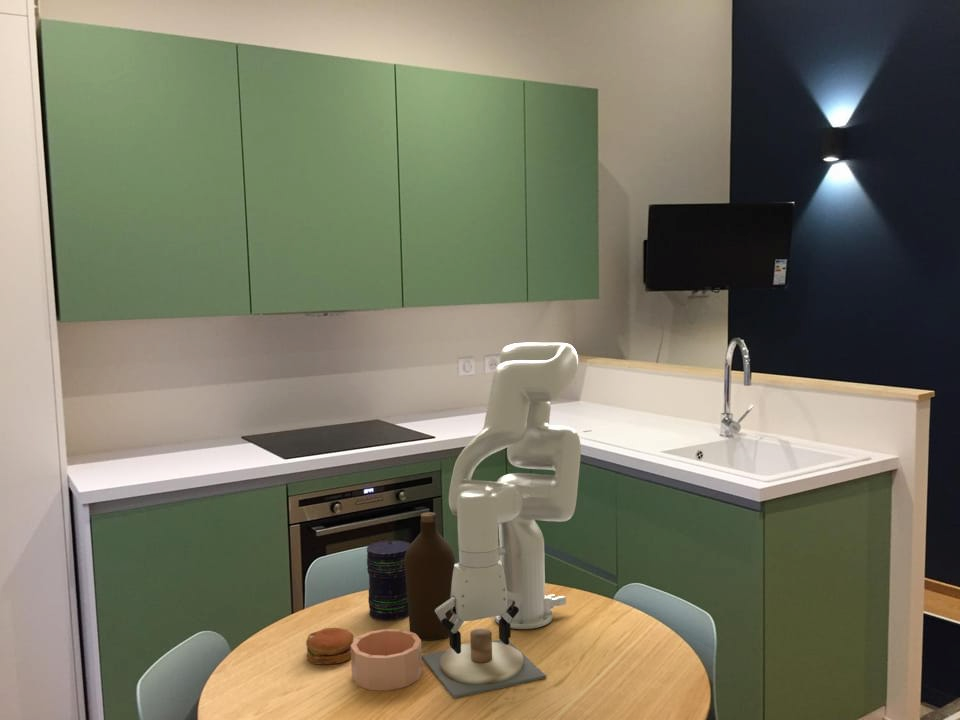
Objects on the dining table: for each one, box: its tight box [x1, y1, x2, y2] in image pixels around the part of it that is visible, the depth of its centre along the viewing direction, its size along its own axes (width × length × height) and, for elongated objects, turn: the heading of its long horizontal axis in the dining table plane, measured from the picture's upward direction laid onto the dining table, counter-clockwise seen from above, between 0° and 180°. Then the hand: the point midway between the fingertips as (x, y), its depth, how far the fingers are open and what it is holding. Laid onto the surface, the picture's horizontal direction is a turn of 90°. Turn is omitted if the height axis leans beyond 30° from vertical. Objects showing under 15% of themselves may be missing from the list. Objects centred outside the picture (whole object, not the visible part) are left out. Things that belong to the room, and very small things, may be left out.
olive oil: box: [404, 511, 457, 641], centre depth 174 cm, size 11×11×25 cm
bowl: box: [350, 628, 423, 692], centre depth 156 cm, size 13×13×6 cm
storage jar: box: [366, 539, 411, 622], centre depth 185 cm, size 10×10×15 cm
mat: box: [422, 639, 547, 699], centre depth 157 cm, size 18×18×1 cm
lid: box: [440, 628, 523, 684], centre depth 157 cm, size 16×16×6 cm
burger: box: [305, 627, 354, 665], centre depth 165 cm, size 10×9×5 cm
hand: (480, 646), depth 157 cm, fingers open, 9 cm apart
